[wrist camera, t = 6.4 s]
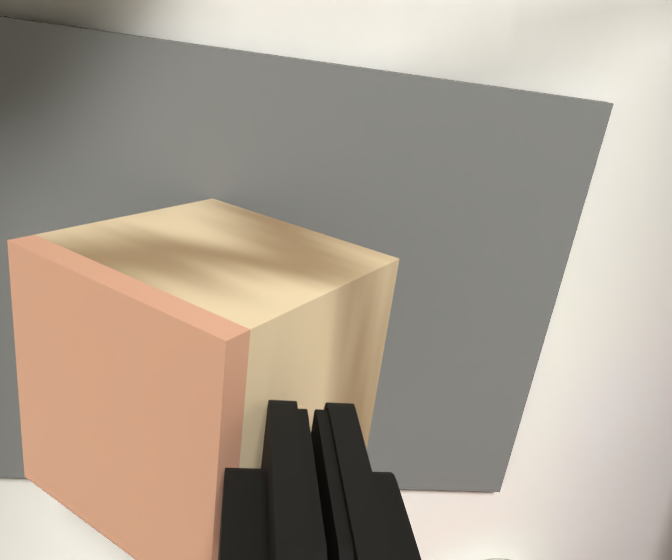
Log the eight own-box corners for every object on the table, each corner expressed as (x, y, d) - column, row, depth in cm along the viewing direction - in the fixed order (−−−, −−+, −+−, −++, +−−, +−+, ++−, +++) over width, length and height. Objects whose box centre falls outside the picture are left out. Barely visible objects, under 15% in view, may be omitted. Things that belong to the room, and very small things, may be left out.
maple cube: (399, 258, 15) (226, 340, 10) (363, 464, 17) (207, 613, 12) (212, 198, 18) (6, 239, 13) (203, 381, 20) (24, 476, 15)
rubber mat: (606, 102, 18) (613, 103, 18) (495, 484, 23) (499, 492, 23) (-555, -63, 14) (-577, -65, 13) (-378, 457, 19) (-391, 466, 19)
